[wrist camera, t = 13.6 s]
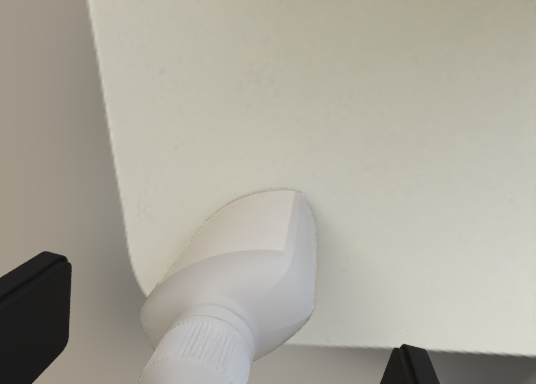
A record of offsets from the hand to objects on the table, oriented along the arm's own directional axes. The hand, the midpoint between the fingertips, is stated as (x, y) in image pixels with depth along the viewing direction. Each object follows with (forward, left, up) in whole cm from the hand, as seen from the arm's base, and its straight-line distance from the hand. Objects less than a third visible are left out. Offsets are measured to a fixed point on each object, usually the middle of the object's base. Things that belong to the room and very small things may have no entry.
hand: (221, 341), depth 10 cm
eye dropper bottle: (0, 0, -9) cm, 9 cm away
